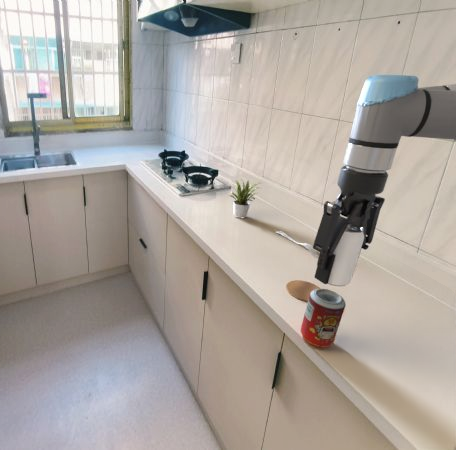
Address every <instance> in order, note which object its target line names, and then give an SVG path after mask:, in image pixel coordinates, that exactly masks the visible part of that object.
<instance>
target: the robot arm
mask: <svg viewBox="0 0 456 450" xmlns="http://www.w3.org/2000/svg"><path fill="white" fill-rule="evenodd" d="M418 85H419V77H418V76H416V75H405V74H404V75H403V74H372V75H371V76H368V77H367V78H366V79H365V81H364V83H363V86H362V89H361V92H360V95H359V98H358V100H357V102H356V109H355V114H354V118H353V122H352V127H351V131H350V134H349V137H348V142H347V146H346V150H345V153H344V157H343V160H342V163H343V164H344V165H343V166H342V167H340V172H339V175H338V179H337V186H338V187H339V189H340V192H339V195H338V196H337V198H336V199H335V200H334V201H332V202H331V201H329V200H326V201H325V202H324V203H323V212H322V213H323V214H322V216H321V219H320V223H319V226H318V229H317V232H316V235H315V239H314V242H313V244H312V247H313V249H314V250H315V251H316V252H318V253H319V254H318V256H319V257H317V263H316V269H315V274H314V278H315V280H317V281H319V282H320V283H322V284H324V285H329V284H328V281H329V277H330V274H331V270H332V267H333V263H334V260H335V256H336V255H334V254H333V252H334V251H335V249H336V247H337V245H338V243H339V241H340V239H341V237H342V235H343V233H344V232H345V230H346V228H347V226H348V224H351V223H352V225H355V226H357V227H359V228H361V227H363V228H364V231H363V233H364V241H363V244H362V247H361V251H362V249H363V250H364V251H367V250H368V249H369V247H370V246H369V245H370V244H371V243H372V242H373V239H374V235H375V232H376V228H377V224H378V221H379V217H380V212H381V209H382V208H383V205H384V203H385V200H386V199H385V197H382V196H378V195H380V194H382V193H383V192H384V191H385V187H386V184H387V180H388V178H389V173H388V171H390V170H391V169H392V166H393V163H394V160H395V156H396V153H397V149H398V147H399V145H400V140H401V138H402V137H407V138H411V137H414V138H426V139H427V138H428V139H440V140H441V139H442V140H452V141H454V142H455V141H456V83H452V84H444V85H434V86H425V87H419V86H418ZM361 251H360V254H359V257H358V260H357V263H358V261H359V259H360V255H361ZM357 263H356V266H357ZM356 266H355V268H356ZM353 276H354V275H353ZM353 276H352V278H353Z"/></svg>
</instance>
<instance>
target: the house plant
mask: <svg viewBox="0 0 456 450" xmlns="http://www.w3.org/2000/svg"><path fill="white" fill-rule="evenodd" d="M240 180H241V182H242V186H241V184H240V183H239V181H238V180H235V182H236V186H237V188H235V187H233V188H234V190H235V192H236V193H234V192H233V191H229V192H230V193H231V194H232V195H228V197H231V198H233V199H234V200H233V201H232V206H233V207H232V209H233V210H232V211H233V216H234V215H235V216H238V217H246V218H247V215H248V213H249V209H250V206H251V202H252V203H254V201H255V200H256V199H255V197H254V196H255V195H257V192H254V191H256V190H257V189H262V188H261V187H259V186H258V185H260V184H261V182H257V183H254V184H253V185H251V184H250V181H249V180H247V181H246V183H245V182H244V180H243V179H242V178H240ZM227 184H228V185H231V186H232V184H231V183H228V182H227ZM256 186H258V187H256Z"/></svg>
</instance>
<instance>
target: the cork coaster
mask: <svg viewBox="0 0 456 450" xmlns="http://www.w3.org/2000/svg"><path fill="white" fill-rule="evenodd" d="M285 289H286V292H287V293H288V294H289V295H291V296H292V297H293V298H295V299H297V300H299V301H303V302H307V303H308V299H309V296H310V293H311V292H312V291H313V290H316V289H322V288H321V287H320V286H319V285H316V284H315V283H312V282H309V281H307V280H301V279H300V280H298V279H296V280H291V281H288V282H287V283H286V286H285Z"/></svg>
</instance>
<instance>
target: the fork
mask: <svg viewBox="0 0 456 450" xmlns="http://www.w3.org/2000/svg"><path fill="white" fill-rule="evenodd" d="M275 234H278V235H280V236H283V237H285V238H286V239H288V240H290V241H292V242H293V243H295V244H297V245H301V246H303V247H305V248H306V250H308V251H309V253H310V254H311V255H312V256H313V257H314V258H319V254H318V251H317V250H315V249H313V245H312V244H310V243H307V242H304V243H301V242H298V241H296V240H295V239H294V238H292V237H291V236H289V235H288V234H287V233H285V232H283V231H281V230H276V231H275Z"/></svg>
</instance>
